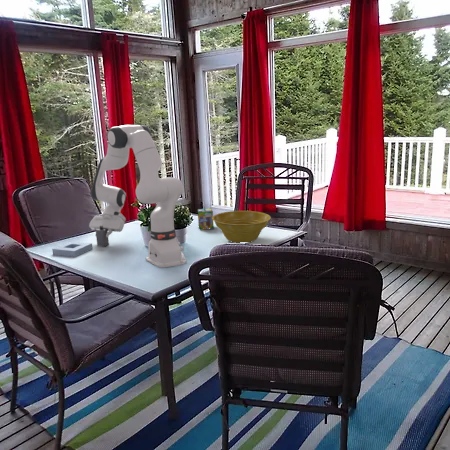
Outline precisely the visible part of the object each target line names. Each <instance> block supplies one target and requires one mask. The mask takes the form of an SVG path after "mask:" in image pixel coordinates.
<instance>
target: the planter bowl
mask: <svg viewBox="0 0 450 450" xmlns="http://www.w3.org/2000/svg"><path fill="white" fill-rule="evenodd" d="M271 218H272V216H271V215H269V214H267V213H264V212H260V211H252V210H232V211H224V212H220V213H218V214H215V215H214V214H213V217H212V219H213V222H214V223H215V226H216V228H218V229H219V230H220V231H221V232H222V234H223V235H224V237H225V239H226V240H227V241H229V242H230V241H232V242H231V243H233V242H236V243H235V244H241V243H240V242H250V243H252V242H251V241H253V242H254V241H255V240H257V239H258V237H259V236H260V234H261V233H262V230H263V229H265V228H267V225H268V223H269V221H271Z"/></svg>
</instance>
